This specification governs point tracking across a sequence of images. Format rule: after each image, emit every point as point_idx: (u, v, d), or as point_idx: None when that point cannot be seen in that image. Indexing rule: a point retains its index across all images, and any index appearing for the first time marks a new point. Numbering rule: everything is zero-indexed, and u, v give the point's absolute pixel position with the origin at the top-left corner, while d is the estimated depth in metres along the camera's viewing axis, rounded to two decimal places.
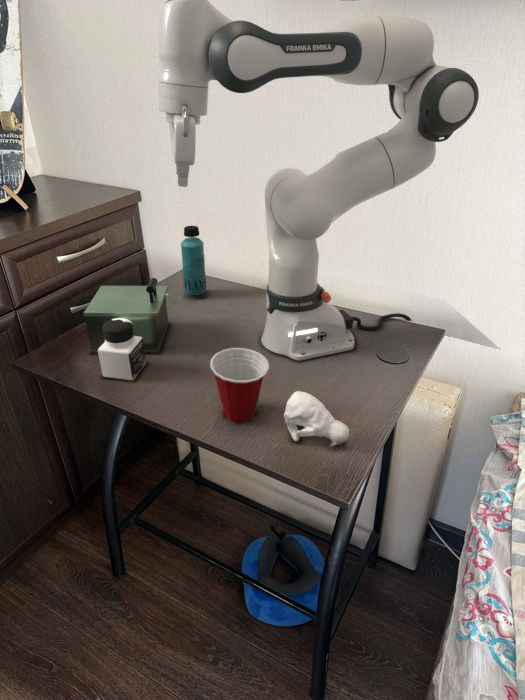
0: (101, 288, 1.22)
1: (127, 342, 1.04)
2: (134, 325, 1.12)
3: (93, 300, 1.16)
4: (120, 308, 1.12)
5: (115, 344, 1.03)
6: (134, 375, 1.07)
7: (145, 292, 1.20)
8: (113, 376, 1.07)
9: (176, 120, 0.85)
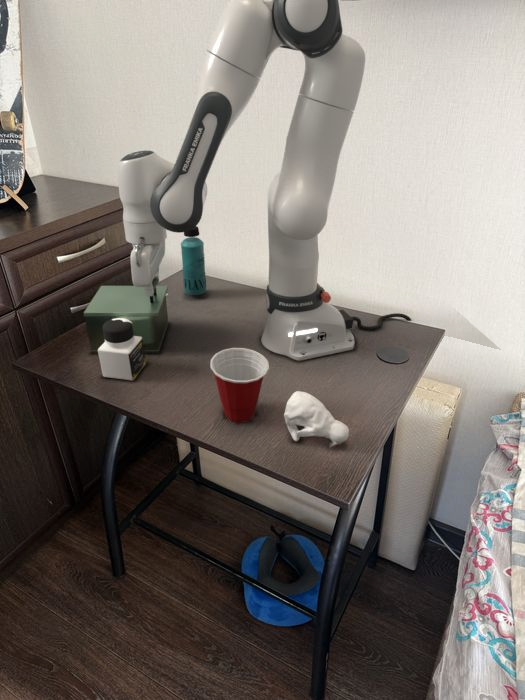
0: (101, 288, 1.22)
1: (127, 342, 1.04)
2: (134, 325, 1.12)
3: (93, 300, 1.16)
4: (120, 308, 1.12)
5: (115, 344, 1.03)
6: (134, 375, 1.07)
7: None
8: (113, 376, 1.07)
9: (131, 254, 1.02)
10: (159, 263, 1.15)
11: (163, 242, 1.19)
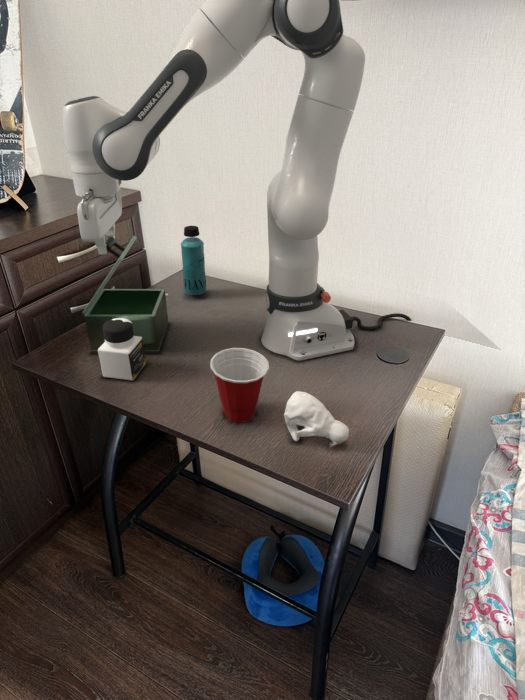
0: None
1: (127, 342, 1.04)
2: (134, 325, 1.12)
3: None
4: None
5: (115, 344, 1.03)
6: (134, 375, 1.07)
7: None
8: (113, 376, 1.07)
9: (78, 206, 0.97)
10: (113, 220, 1.10)
11: (119, 200, 1.14)
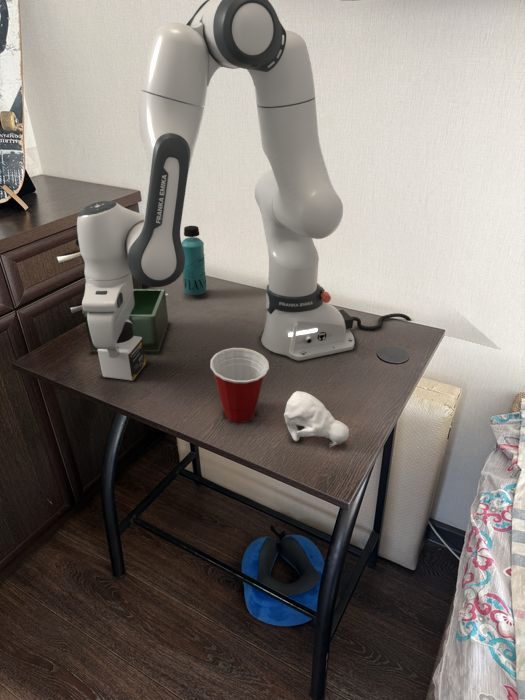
0: None
1: (127, 342, 1.04)
2: (134, 325, 1.12)
3: None
4: None
5: None
6: (134, 375, 1.07)
7: None
8: (113, 376, 1.07)
9: None
10: None
11: None
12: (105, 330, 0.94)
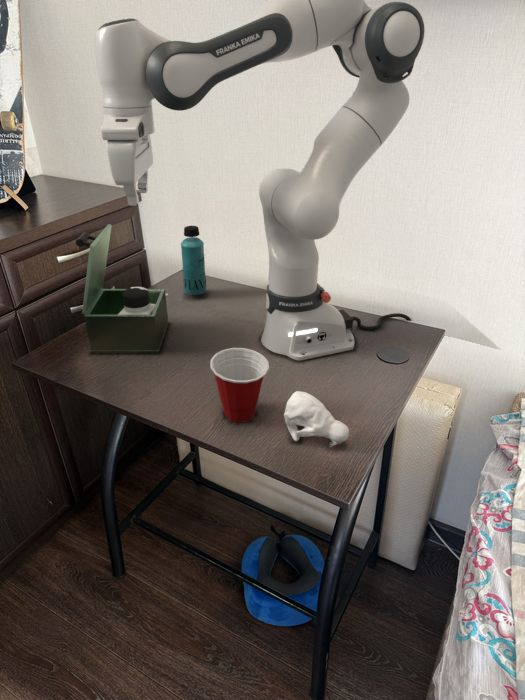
0: None
1: (144, 308, 1.16)
2: (134, 325, 1.12)
3: None
4: None
5: (134, 309, 1.15)
6: None
7: None
8: None
9: None
10: None
11: None
12: (126, 160, 0.87)
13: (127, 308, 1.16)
